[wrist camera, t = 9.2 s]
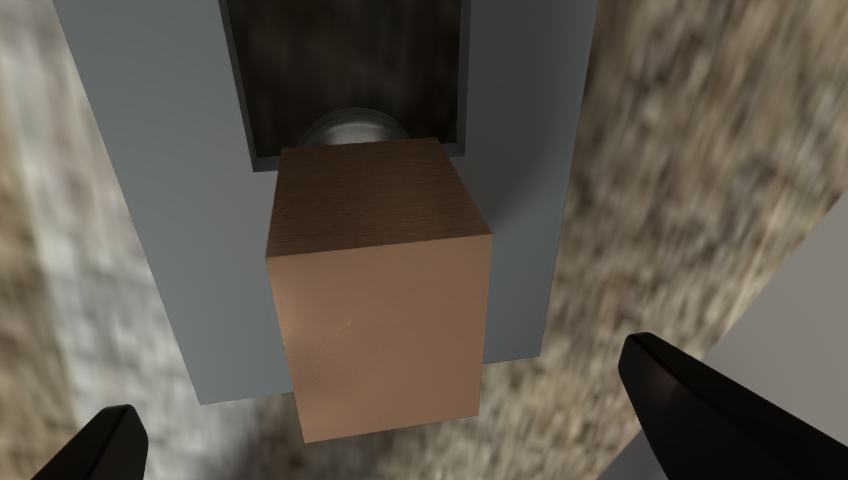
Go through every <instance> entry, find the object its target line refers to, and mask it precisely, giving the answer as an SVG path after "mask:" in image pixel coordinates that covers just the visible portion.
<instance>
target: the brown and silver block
mask: <svg viewBox="0 0 848 480" xmlns="http://www.w3.org/2000/svg"><path fill="white" fill-rule="evenodd" d="M492 237H493V234H492V232H491V230H490V228H489V227H488V225H487V223H486V222H485V220H484V218H483V216H482V215H481V213H480V211H479V210H478V208H477V206H476V204H475V203H474V201H473V199H472V197H471V196H470V194H469V192H468V191H467V189H466V187H465V185H464V184H463V182H462V180H461V179H460V177H459V175H458V173H457V172H456V170H455V168H454V167H453V165H452V163H451V161H450V160H449V158H448V156H447V154H446V153H445V151H444V149H443V148H442V146H441V144H440V142H439V141H438V139H437V137H432V138H418V139H412V138H411V136H410V135H409V134H408V132H407V131H406V130H405V128H404V127H403V126H402V125H401V124H400V123H398V122H397V121H396V120H394V119H393V118H392V117H390V116H388V115H386V114H384V113H382V112H379V111H376V110H372V109H368V108H345V109H340V110H336V111H333V112H331V113H328V114H326V115H324V116H323V117H321V118H319V119H318V120H317V121H315V122H314V123H313V124H312V125H311V126H310V127H309V128H308V129H307V130H306V131H305V132H304V134H303V135H302V136H301V138H300V140H299V142H298V144H297V147H294V148H281V155H280V161H279V168H278V175H277V181H276V188H275V195H274V201H273V208H272V214H271V221H270V228H269V234H268V241H267V247H266V254H265V261H266V265H267V270H268V275H269V279H270V284H271V289H272V293H273V298H274V303H275V307H276V312H277V317H278V321H279V326H280V331H281V335H282V340H283V345H284V349H285V354H286V359H287V363H288V368H289V373H290V377H291V382H292V387H293V391H294V396H295V401H296V405H297V410H298V415H299V419H300V424H301V429H302V433H303V438H304V443H311V442H317V441H323V440H330V439H336V438H342V437H348V436H354V435H360V434H367V433H373V432H379V431H385V430H391V429H398V428H404V427H410V426H416V425H422V424H428V423H435V422H441V421H447V420H453V419H459V418H466V417H472V416H478V413H479V400H480V388H481V375H482V362H483V350H484V337H485V325H486V312H487V300H488V287H489V275H490V262H491V249H492Z"/></svg>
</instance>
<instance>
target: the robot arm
mask: <svg viewBox="0 0 848 480" xmlns="http://www.w3.org/2000/svg"><path fill="white" fill-rule="evenodd" d="M618 370H619V375H620V378H621V380H622V382H623V385H624V387H625V389H626V392H627V394H628V396H629V399H630V401H631V403H632V406H633V408H634V410H635V413H636V415H637V417H638V420H639V422H640V424H641V427H642V429H643V431H644V433H645V436H646V438H647V440H648V442H649V444H650V446H651V449H652V451H653V452H654V454H655V456H656V458H657V460H658V462H659V464H660V465H661V467H662V469H663V471H664V473H665V474H666V476H667V478H668V480H848V447H847V446H845V445H844V444H842V443H840V442H838V441H837V440H835V439H833V438H832V437H830V436H828V435H826V434H825V433H823V432H821V431H820V430H818V429H816V428H814V427H813V426H811V425H809V424H807V423H806V422H804V421H802V420H801V419H799V418H797V417H795V416H794V415H792V414H790V413H788V412H787V411H785V410H783V409H782V408H780V407H778V406H776V405H775V404H773V403H771V402H769V401H768V400H766V399H764V398H763V397H761V396H759V395H757V394H756V393H754V392H752V391H751V390H749V389H747V388H745V387H744V386H742V385H740V384H738V383H736V382H735V381H733V380H732V379H730V378H728V377H726V376H724V375H723V374H721V373H719V372H718V371H716V370H714V369H713V368H711V367H709V366H707V365H705V364H704V363H702V362H700V361H699V360H697V359H695V358H694V357H692V356H690V355H688V354H687V353H685V352H683V351H681V350H680V349H678V348H676V347H675V346H673V345H671V344H669V343H668V342H666V341H664V340H662V339H661V338H659V337H657V336H656V335H654V334H652V333H649V332H642V333H635V334H630V335H628V336H627V337H626V339H625V342H624V346H623V349H622V353H621V356H620V359H619V363H618ZM147 452H148V436H147V433H146V430H145V428H144V426H143V424H142V422H141V420H140V418H139V416H138V414H137V412H136V410H135V408H134V407H133V406H132V405H130V404H125V405H117V406H110V407H106V408H104V409H102V410H101V411H100V412H99V413H98V414H97V415H95V416H94V417H93V418H92V419H91V420H90V421H89V422H88V423H87V424H86V425H85V426H84V427H83V428H82V429H81V430H80V431H79V432H78V433H77V434H76V435H75V436H74V437H73V438H72V439H71V440H70V441H69V442H68V443H67V444H66V445H65V446H64V447H63V448H62V449H61V450H60V451H59V452H58V453H57V454H56V455H55V456H54V457H53V458H52V459H51V460H50V461H49V462H48V463H47V464H46V465H45V466H44V467H43V468H42V469H41V470H40V471H39V472H38V473H37V474H36V475H35V476H34V477H33V478H32V479H31V480H143V478H144V472H145V465H146V459H147Z"/></svg>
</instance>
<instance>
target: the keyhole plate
mask: <svg viewBox="0 0 848 480" xmlns="http://www.w3.org/2000/svg"><path fill="white" fill-rule="evenodd" d="M52 2H53V4H54V7H55V10H56V13H57V15H58V18H59V21H60V23H61V26H62V29H63V32H64V34H65V37H66V40H67V43H68V45H69V48H70V51H71V53H72V56H73V59H74V62H75V64H76V67H77V70H78V73H79V75H80V78H81V81H82V84H83V86H84V89H85V92H86V94H87V97H88V100H89V103H90V105H91V108H92V111H93V114H94V116H95V119H96V122H97V124H98V127H99V130H100V133H101V135H102V138H103V141H104V144H105V146H106V149H107V152H108V155H109V157H110V160H111V163H112V165H113V168H114V171H115V174H116V176H117V179H118V182H119V185H120V187H121V190H122V193H123V195H124V198H125V201H126V204H127V206H128V209H129V212H130V215H131V217H132V220H133V223H134V226H135V228H136V231H137V234H138V236H139V239H140V242H141V245H142V247H143V250H144V253H145V256H146V258H147V261H148V264H149V266H150V269H151V272H152V275H153V277H154V280H155V283H156V286H157V288H158V291H159V294H160V297H161V299H162V302H163V305H164V307H165V310H166V313H167V316H168V318H169V321H170V324H171V327H172V329H173V332H174V335H175V338H176V340H177V343H178V346H179V348H180V351H181V354H182V357H183V359H184V362H185V365H186V368H187V370H188V373H189V376H190V378H191V381H192V384H193V387H194V389H195V392H196V395H197V398H198V400H199V403H200V405H205V404H212V403H219V402H226V401H233V400H239V399H246V398H253V397H260V396H267V395H274V394H281V393H288V392H294V391H293V387H292V382H291V377H290V373H289V368H288V363H287V359H286V354H285V349H284V345H283V340H282V335H281V331H280V326H279V321H278V317H277V312H276V307H275V303H274V298H273V293H272V289H271V284H270V279H269V275H268V270H267V265H266V261H265V254H266V247H267V241H268V234H269V228H270V221H271V214H272V208H273V201H274V195H275V188H276V181H277V175H278V168H279V161H280V156H272V157H259V158H257V155H256V150H255V145H254V140H253V135H252V130H251V125H250V120H249V115H248V110H247V104H246V99H245V94H244V89H243V84H242V79H241V74H240V69H239V64H238V59H237V54H236V49H235V43H234V38H233V33H232V28H231V23H230V18H229V13H228V8H227V3H226V0H52ZM598 2H599V0H461V9H460V40H459V72H458V103H457V135H456V143H449V144H441V146H442V148H443V149H444V151H445V153H446V154H447V156H448V158H449V160H450V161H451V163H452V165H453V167H454V168H455V170H456V172H457V173H458V175H459V177H460V179H461V180H462V182H463V184H464V185H465V187H466V189H467V191H468V192H469V194H470V196H471V197H472V199H473V201H474V203H475V204H476V206H477V208H478V210H479V211H480V213H481V215H482V216H483V218H484V220H485V222H486V223H487V225H488V227H489V228H490V230H491V232H492V234H493V237H492V249H491V262H490V275H489V287H488V300H487V312H486V325H485V337H484V350H483V362H482V364H488V363H495V362H502V361H509V360H516V359H523V358H530V357H537V356H540V352H541V345H542V339H543V333H544V327H545V321H546V315H547V309H548V303H549V297H550V291H551V285H552V279H553V273H554V267H555V261H556V255H557V249H558V243H559V237H560V231H561V225H562V219H563V213H564V207H565V201H566V195H567V189H568V183H569V177H570V171H571V165H572V159H573V153H574V147H575V141H576V135H577V129H578V123H579V117H580V111H581V105H582V99H583V93H584V87H585V80H586V74H587V68H588V62H589V56H590V50H591V44H592V38H593V32H594V26H595V20H596V14H597V8H598Z"/></svg>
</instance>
